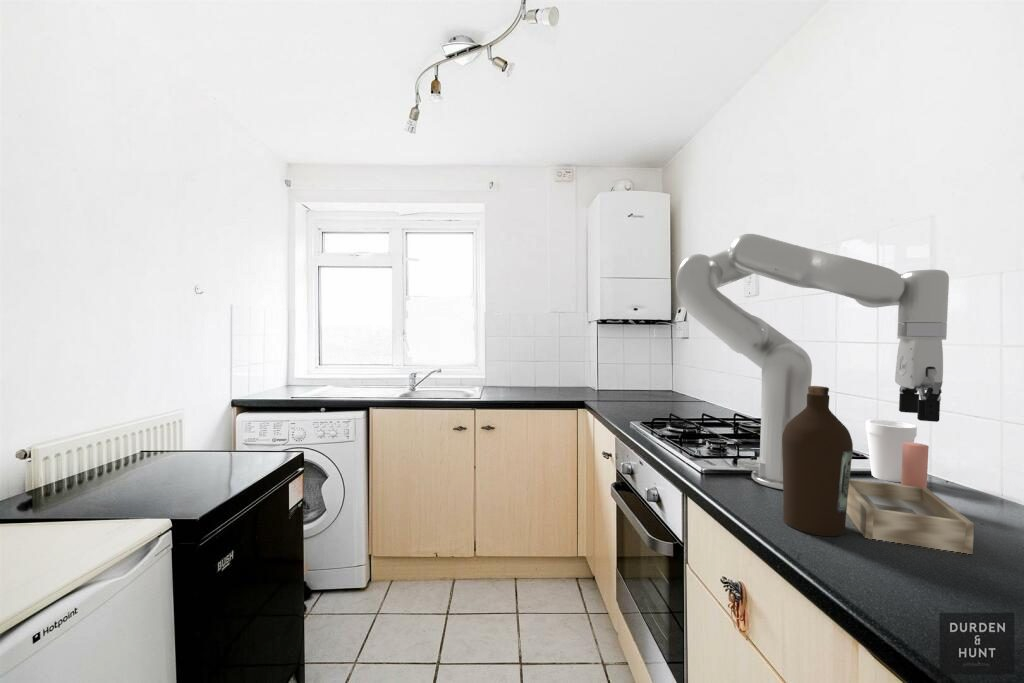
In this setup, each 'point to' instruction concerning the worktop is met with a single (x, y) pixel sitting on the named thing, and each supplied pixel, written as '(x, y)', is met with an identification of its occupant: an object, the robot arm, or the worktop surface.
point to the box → (907, 516)
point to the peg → (914, 464)
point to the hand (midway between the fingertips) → (917, 416)
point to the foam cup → (888, 447)
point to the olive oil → (816, 468)
